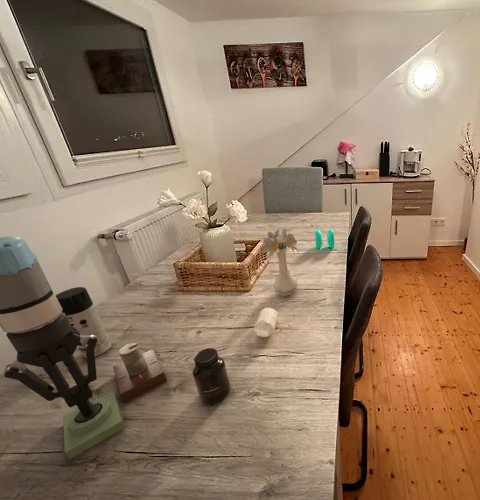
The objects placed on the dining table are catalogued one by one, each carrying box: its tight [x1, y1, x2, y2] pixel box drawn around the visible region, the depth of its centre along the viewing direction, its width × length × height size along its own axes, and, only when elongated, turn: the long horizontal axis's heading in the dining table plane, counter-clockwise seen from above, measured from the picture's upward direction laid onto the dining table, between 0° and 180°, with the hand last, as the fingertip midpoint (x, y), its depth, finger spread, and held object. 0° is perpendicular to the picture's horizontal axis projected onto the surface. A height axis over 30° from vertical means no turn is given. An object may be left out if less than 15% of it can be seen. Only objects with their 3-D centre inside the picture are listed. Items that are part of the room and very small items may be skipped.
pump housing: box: [62, 390, 126, 460], centre depth 61 cm, size 11×9×4 cm
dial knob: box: [118, 342, 147, 375], centre depth 71 cm, size 4×4×7 cm
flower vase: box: [260, 228, 299, 297], centre depth 106 cm, size 13×18×25 cm
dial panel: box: [112, 348, 168, 404], centre depth 73 cm, size 12×9×3 cm
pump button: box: [76, 404, 102, 423], centre depth 60 cm, size 4×4×2 cm
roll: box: [253, 307, 279, 338], centre depth 87 cm, size 6×12×6 cm, turn 5°
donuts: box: [314, 228, 335, 249], centre depth 150 cm, size 10×10×10 cm
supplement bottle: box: [192, 347, 231, 405], centre depth 66 cm, size 7×7×12 cm
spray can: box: [55, 286, 112, 358], centre depth 79 cm, size 7×7×20 cm
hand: (88, 411), depth 60 cm, fingers closed
